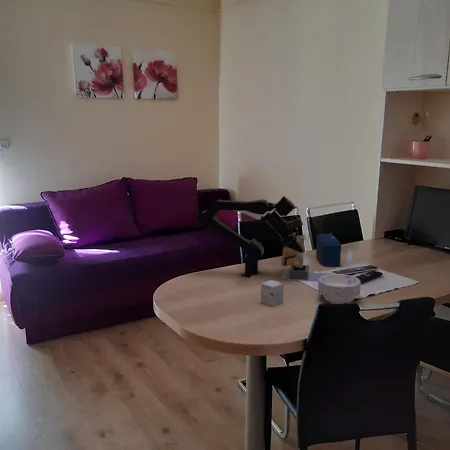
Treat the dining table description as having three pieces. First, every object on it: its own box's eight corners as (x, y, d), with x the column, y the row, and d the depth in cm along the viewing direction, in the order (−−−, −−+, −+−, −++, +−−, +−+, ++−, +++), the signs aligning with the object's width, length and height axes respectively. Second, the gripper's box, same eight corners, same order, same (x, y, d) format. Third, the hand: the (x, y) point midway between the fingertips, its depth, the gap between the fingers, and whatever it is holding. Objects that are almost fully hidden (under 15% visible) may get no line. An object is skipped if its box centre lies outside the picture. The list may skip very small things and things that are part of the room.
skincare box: (260, 302, 170) (260, 283, 169) (271, 298, 174) (271, 279, 173) (273, 306, 166) (273, 287, 164) (283, 302, 170) (284, 283, 169)
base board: (280, 281, 194) (280, 278, 193) (283, 272, 205) (283, 270, 205) (339, 285, 188) (339, 283, 188) (339, 276, 200) (339, 274, 200)
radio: (342, 269, 211) (344, 225, 207) (322, 269, 211) (324, 225, 207) (332, 256, 231) (334, 217, 227) (315, 256, 231) (316, 217, 228)
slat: (295, 266, 195) (296, 237, 192) (296, 263, 199) (297, 235, 197) (302, 267, 194) (303, 238, 191) (303, 264, 199) (304, 235, 196)
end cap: (289, 278, 194) (289, 270, 193) (291, 272, 203) (291, 264, 202) (307, 279, 192) (307, 271, 192) (308, 273, 201) (308, 265, 201)
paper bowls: (309, 295, 177) (310, 275, 175) (343, 290, 182) (344, 271, 180) (332, 309, 163) (333, 288, 161) (368, 304, 168) (369, 283, 167)
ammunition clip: (284, 268, 212) (284, 242, 210) (281, 267, 214) (281, 241, 211) (300, 264, 219) (301, 239, 216) (297, 263, 220) (298, 238, 218)
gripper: (289, 214, 184) (316, 243, 184) (293, 207, 202) (318, 233, 202) (269, 233, 187) (296, 261, 187) (275, 224, 205) (299, 250, 205)
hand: (303, 250), depth 195 cm, fingers closed on slat, 5 cm apart
